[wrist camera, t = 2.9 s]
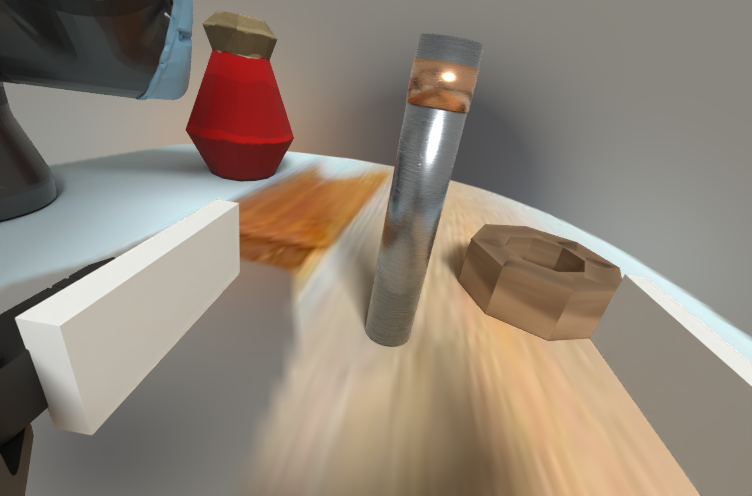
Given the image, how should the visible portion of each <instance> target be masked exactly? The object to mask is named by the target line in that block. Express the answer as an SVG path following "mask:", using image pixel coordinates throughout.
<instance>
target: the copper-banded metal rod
mask: <svg viewBox="0 0 752 496" xmlns="http://www.w3.org/2000/svg"><path fill="white" fill-rule="evenodd" d="M483 49H484V45H482V44H480V43H478V42H474V41H471V40H467V39H462V38H457V37H451V36H444V35H435V34H421V35H419V38H418V44H417V49H416V54H415V58H414V60H413V66H412V71H411V77H410V82H409V88H408V93H407V98H406V101H407V103H406V109H405V114H404V120H403V125H402V131H401V136H400V141H399V147H398V152H397V158H396V163H395V169H394V174H393V179H392V185H391V190H390V196H389V201H388V207H387V212H386V217H385V223H384V228H383V234H382V239H381V245H380V250H379V256H378V261H377V266H376V272H375V277H374V283H373V288H372V294H371V299H370V305H369V310H368V315H367V321H366V326H365V330H366V333H367V335H368V336H369V338H370V339H372V340H373V341H374V342H376V343H378V344H381V345H384V346H390V347H395V346H400V345H403V344H404V343H406V342H407V341H408V339H409V337H410V333H411V329H412V325H413V321H414V317H415V313H416V309H417V306H418V302H419V298H420V294H421V290H422V286H423V282H424V278H425V275H426V271H427V267H428V263H429V259H430V255H431V251H432V247H433V243H434V240H435V236H436V232H437V228H438V224H439V220H440V216H441V212H442V209H443V205H444V201H445V197H446V193H447V189H448V185H449V181H450V177H451V174H452V170H453V165H454V162H455V158H456V154H457V150H458V146H459V142H460V138H461V135H462V131H463V126H464V123H465V119H466V115H467V113H468V111H469V108H470V103H471V100H472V96H473V92H474V88H475V84H476V80H477V77H478V73H479V65H480V60H481V57H482V53H483Z"/></svg>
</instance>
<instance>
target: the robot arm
mask: <svg viewBox="0 0 752 496" xmlns="http://www.w3.org/2000/svg"><path fill="white" fill-rule="evenodd" d="M192 24H193V0H0V220H5V219H9V218H12V217H16V216H19V215H23V214H26V213H29V212H32V211H34V210H37V209H39V208H41V207H43V206H45V205H47V204H49V203H50V202H51V201H53V200H54V199H55V197H56V196H57V190H56V186H55V182H54V178H53V174H52V172H51V170H50V168H49V167H48V165H47V164H46V163H45V161H44V160H43V158H42V157H41V155H40V154H39V152H38V151H37V149H36V148H35V146H34V145H33V143H32V142H31V141H30V139H29V138H28V136H27V135H26V133H25V132H24V130H23V129H22V128H21V126H20V125H19V123H18V122H17V120H16V119H15V118H14V116H13V114H12V112H11V110H10V107H9V103H8V100H7V97H6V93H5V90H4V86H3V82H9V83H16V84H26V85H34V86H43V87H50V88H57V89H65V90H73V91H81V92H89V93H96V94H104V95H112V96H120V97H128V98H135V99H137V100H146V99H162V100H175V99H179V98H180V97H182V96H183V95H184V94H185V92H186V91H187V88H188V84H189V78H190V68H191V51H192V42H191V36H192ZM239 265H240V263H239V203H234V202H229V201H223V200H218V199H216V200H214V201H213V202H211V203H209V204H208V205H206V206H204V207H203V208H201V209H199V210H197V211H196V212H194V213H192V214H191V215H189V216H187V217H185V218H184V219H182V220H180V221H179V222H177V223H175V224H174V225H172V226H170V227H168V228H167V229H165V230H163V231H162V232H160V233H158V234H157V235H155V236H153V237H151V238H150V239H148V240H146V241H145V242H143V243H141V244H139V245H138V246H136V247H134V248H133V249H131V250H129V251H128V252H126V253H124V254H123V255H121V256H119V257H117V258H114V257H112V258H109V259H106V260H103V261H100V262H97V263H94V264H91V265H88V266H87V267H85V268H83V269H81V270H79V271H77V272H76V273H74V274H72V275H70V276H69V278H68V279H66V278H65V279H63V280H61V281H59V282H58V283H56V284H54V285H53V286H52V288H47V289H45V290H43V291H41V292H40V293H38V294H36V295H34V296H33V297H31V298H30V299H27V300H25V301H24V302H22V303H20V304H18V305H16V306H15V307H13V308H11V309H9V310H7V311H6V312H4V313H2V314H1V315H0V496H25V491H26V484H27V477H28V470H29V464H30V457H31V450H32V443H33V430H32V426H31V424H30V423H31V422H32V421H33V420H34V419H35V418H36V417H38V416H39V415H40V414H41V413H42V412H43V411H44V410H45V409H46V408H48V411H49V413H50V416H51V419H52V422H53V425H54V427H55V428H56V429H62V430H67V431H73V432H77V433H82V434H88V435H93V434H94V433H95V431H96V430H97V429H98V428H99V427H100V426H101V425H102V424H103V423H104V422H105V421H106V419H107V418H108V417H109V416H110V415H111V414H112V413H113V412H114V411H115V410H116V408H117V407H118V406H119V405H120V404H121V403H122V402H123V401H124V400H125V398H127V396H128V395H129V394H130V393H131V392H132V391H133V390H134V389H135V388H136V387H137V385H138V384H139V383H140V382H141V381H142V380H143V379H144V378H145V377H146V376H147V374H148V373H149V372H150V371H151V370H152V369H153V368H154V367H155V366H156V365H157V363H158V362H159V361H160V360H161V359H162V358H163V357H164V356H165V355H166V354H167V353H168V351H169V350H170V349H171V348H172V347H173V346H174V345H175V344H176V343H177V342H178V340H179V339H180V338H181V337H182V336H183V335H184V334H185V333H186V332H187V331H188V329H189V328H190V327H191V326H192V325H193V324H194V323H195V322H196V321H197V320H198V318H199V317H200V316H201V315H202V314H203V313H204V312H205V311H206V310H207V309H208V308H209V306H210V305H211V304H212V303H213V302H214V301H215V300H216V299H217V298H218V297H219V295H220V294H221V293H222V292H223V291H224V290H225V289H226V288H227V287H228V286H229V284H230V283H231V282H232V281H233V280H234V279H235V278H236V277H237V276H238V275H239V273H240V266H239ZM590 339H591V341H592V342H593V344H594V345H595V347H596V348H597V349H598V351H599V352H600V354H601V355H602V356H603V358H604V359H605V361H606V362H607V364H608V365H609V366H610V368H611V369H612V371H613V372H614V374H615V375H616V376H617V378H618V379H619V381H620V382H621V383H622V385H623V386H624V388H625V389H626V391H627V392H628V393H629V395H630V396H631V398H632V399H633V400H634V402H635V403H636V405H637V406H638V408H639V409H640V410H641V412H642V413H643V415H644V416H645V417H646V419H647V420H648V422H649V423H650V425H651V426H652V427H653V429H654V430H655V432H656V433H657V434H658V436H659V437H660V439H661V440H662V442H663V443H664V444H665V446H666V447H667V449H668V450H669V452H670V453H671V454H672V456H673V457H674V459H675V460H676V461H677V463H678V464H679V466H680V467H681V469H682V470H683V471H684V473H685V474H686V476H687V477H688V478H689V480H690V481H691V483H692V484H693V486H694V487H695V488H696V490H697V491H698V493H699V494H700V495H701V496H752V363H751V362H750V361H748V360H747V359H746V358H745V357H744V356H742V355H741V354H740V353H739V352H737V351H736V350H735V349H734V348H732V347H731V346H730V345H729V344H728V343H726V342H725V341H724V340H723V339H721V338H720V337H719V336H718V335H717V334H715V333H714V332H713V331H712V330H710V329H709V328H708V327H707V326H706V325H704V324H703V323H702V322H701V321H699V320H698V319H697V318H696V317H695V316H693V315H692V314H691V313H690V312H688V311H687V310H686V309H685V308H684V307H682V306H681V305H680V304H679V303H677V302H676V301H675V300H674V299H672V298H671V297H670V296H669V295H668V294H666V293H665V292H664V291H663V290H661V289H660V288H659V287H658V286H657V285H655V284H654V283H653V282H652V281H650V280H649V279H648V278H643V277H637V276H632V275H626V274H625V275H624V277H623V279H622V281H621V282H620V284H619V286H618V288H617V290H616V292H615V293H614V295H613V297H612V299H611V301H610V303H609V304H608V306H607V308H606V310H605V312H604V314H603V315H602V317H601V319H600V321H599V323H598V325H597V326H596V328H595V330H594V332H593V334H592V336H591V338H590Z"/></svg>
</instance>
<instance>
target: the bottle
mask: <svg viewBox="0 0 752 496" xmlns="http://www.w3.org/2000/svg"><path fill="white" fill-rule="evenodd" d="M203 27H204V29H205V32H206V34H207V37H208V39H209V42H210V44H211V47H212V53H211V56H210V59H209V62H208V65H207V68H206V71H205V74H204V77H203V80H202V83H201V86H200V89H199V92H198V95H197V98H196V101H195V104H194V107H193V110H192V112H191V115H190V118H189V122H188V124H187V127H186V131H187V133H188V134H189V136H190V138H191V139H192V141H193V143H194V144H195V146H196V148H197V149H198V151H199V152H200V154H201V156H202V157H203V159H204V160H205V162H206V164H207V165H208V167H209V169H210V170H211V172H212V173H213V174H215V175H217V176H219V177H221V178H224V179H230V180H236V181H256V180H262V179H268V178H269V177H271V176H273V175H274V173H275V171H276V169H277V168H278V166H279V164H280V162H281V160H282V159H283V157H284V155H285V153H286V151H287V150H288V148H289V146H290V144H291V142H292V140H293V139H294V137H293V133H292V130H291V127H290V124H289V121H288V118H287V114H286V111H285V108H284V105H283V102H282V98H281V95H280V92H279V89H278V86H277V83H276V79H275V76H274V73H273V70H272V67H271V63H270V57H271V54H272V52H273V49H274V47H275V44H276V42H277V38H276V37H275V35H274V34H273V33H272V31H271V30H270V28H269V27H268V25H267V24H266V23H265V22H264V21H262V20H259V19H256V18H252V17H248V16H244V15H240V14H235V13H230V12H224V11H217V12H215V14H213V15H212V16H211V17H210V18H209V19H207V20H206V21H205V22H204V23H203Z"/></svg>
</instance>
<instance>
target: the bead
mask: <svg viewBox="0 0 752 496" xmlns="http://www.w3.org/2000/svg"><path fill="white" fill-rule="evenodd" d="M458 281H459V282H460V284H461V285H462V286H463V287H464V288H465V290H466V291H467V292H468V293H469V294H470V296H471V297H472V298H473V299H474V300H475V302H476V303H477V304H478V305H479V306H480V308H481V309H482V310H483V311H484V312H485V314H488V315H490V316H492V317H495V318H497V319H499V320H502V321H504V322H506V323H509V324H511V325H513V326H516V327H518V328H520V329H523V330H525V331H527V332H530V333H532V334H534V335H537V336H539V337H541V338H544V339H546V340H548V341H552V340H568V339H583V338H591V336H592V334H593V332H594V330H595V328H596V326H597V325H598V323H599V321H600V319H601V317H602V315H603V314H604V312H605V310H606V308H607V306H608V304H609V303H610V301H611V299H612V297H613V295H614V293H615V292H616V290H617V288H618V286H619V284H620V282H621V281H622V277H621V272H620V268H619V267H617V266H616V265H614V264H612V263H611V262H609V261H607V260H606V259H604V258H602V257H601V256H599V255H597V254H596V253H594V252H592V251H591V250H589V249H587V248H586V247H584V246H582V245H581V244H579V243H577V242H574V241H571V240H568V239H565V238H561V237H558V236H555V235H552V234H549V233H545V232H542V231H539V230H536V229H533V228H530V227H526V226H509V225H491V224H485V225H484V226H483V227H482V228H481V229H480V230H479V231H478V232H477V233H476V234H475V235H474V236H473V237H472V238H471V241H470V244H469V248H468V251H467V254H466V257H465V261H464V264H463V267H462V270H461V274H460V277H459V280H458Z"/></svg>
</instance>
